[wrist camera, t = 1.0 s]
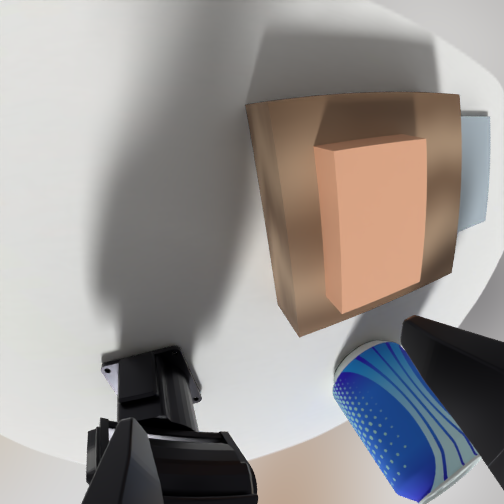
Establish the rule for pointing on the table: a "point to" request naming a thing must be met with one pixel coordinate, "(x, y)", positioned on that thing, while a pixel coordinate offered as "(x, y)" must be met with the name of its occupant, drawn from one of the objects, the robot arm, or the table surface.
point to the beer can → (402, 421)
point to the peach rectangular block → (371, 216)
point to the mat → (474, 170)
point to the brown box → (307, 197)
